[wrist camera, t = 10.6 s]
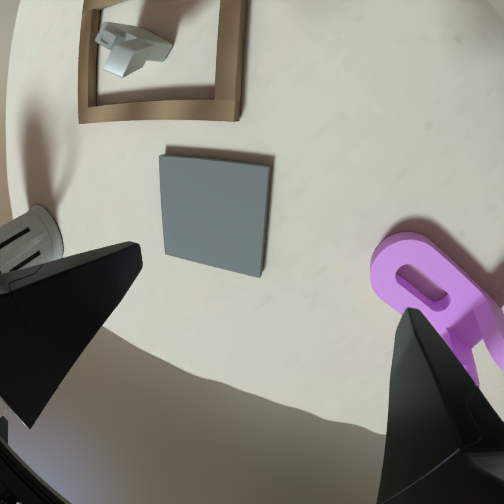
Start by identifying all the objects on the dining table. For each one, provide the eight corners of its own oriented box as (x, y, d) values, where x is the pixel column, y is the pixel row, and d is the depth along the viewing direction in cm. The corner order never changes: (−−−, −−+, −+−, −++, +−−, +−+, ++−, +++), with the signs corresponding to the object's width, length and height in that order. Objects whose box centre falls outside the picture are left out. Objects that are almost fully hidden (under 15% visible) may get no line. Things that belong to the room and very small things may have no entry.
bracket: (501, 308, 19) (524, 365, 13) (457, 347, 22) (468, 407, 16) (401, 216, 19) (416, 265, 13) (355, 271, 22) (349, 331, 17)
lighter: (130, 44, 19) (55, 40, 13) (140, 26, 18) (65, 17, 12) (189, 79, 19) (114, 78, 13) (201, 60, 18) (128, 50, 12)
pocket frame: (249, -40, 13) (244, -45, 13) (239, 120, 20) (233, 121, 19) (91, 1, 18) (84, 0, 17) (86, 122, 24) (78, 124, 23)
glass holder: (23, 213, 35) (-55, 260, 23) (63, 182, 29) (-46, 240, 16) (46, 265, 38) (-26, 319, 26) (92, 251, 32) (-5, 325, 19)
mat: (270, 165, 21) (268, 167, 20) (261, 274, 25) (259, 277, 25) (163, 154, 23) (158, 155, 23) (168, 251, 27) (165, 254, 27)
